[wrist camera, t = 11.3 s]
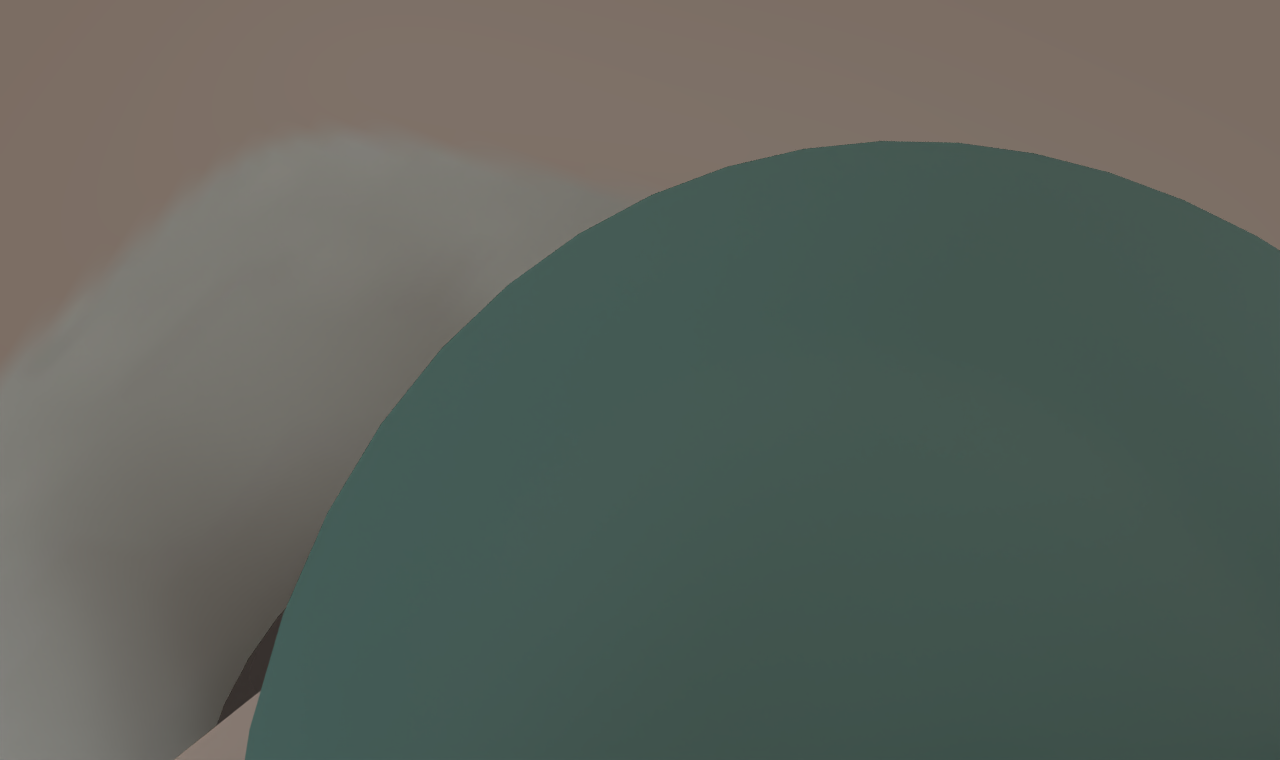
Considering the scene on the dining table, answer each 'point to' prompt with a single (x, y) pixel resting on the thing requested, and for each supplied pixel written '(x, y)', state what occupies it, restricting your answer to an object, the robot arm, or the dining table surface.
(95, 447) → the dining table surface
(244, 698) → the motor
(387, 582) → the beige teal capped bottle
